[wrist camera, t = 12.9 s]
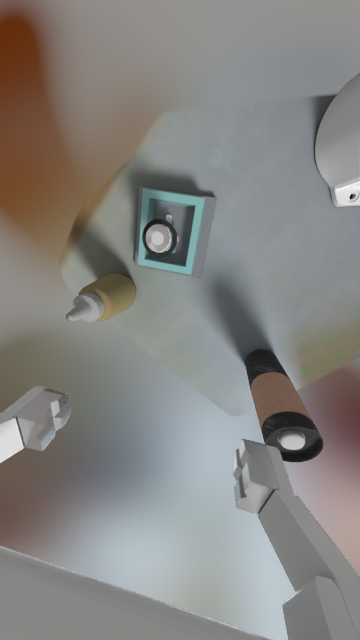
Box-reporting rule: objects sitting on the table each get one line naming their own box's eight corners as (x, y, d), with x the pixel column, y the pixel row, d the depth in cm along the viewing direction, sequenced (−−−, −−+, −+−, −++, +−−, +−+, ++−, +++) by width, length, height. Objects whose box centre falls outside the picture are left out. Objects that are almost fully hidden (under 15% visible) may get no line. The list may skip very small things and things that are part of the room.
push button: (156, 216, 35) (137, 207, 26) (185, 215, 34) (174, 205, 25) (158, 254, 38) (141, 257, 29) (185, 253, 37) (175, 257, 28)
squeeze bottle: (117, 263, 41) (54, 277, 25) (147, 285, 42) (105, 314, 26) (102, 291, 44) (36, 320, 28) (130, 312, 45) (83, 352, 29)
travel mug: (241, 372, 47) (258, 456, 28) (248, 345, 44) (273, 420, 25) (273, 377, 46) (312, 468, 28) (282, 351, 43) (334, 432, 24)
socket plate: (216, 199, 34) (216, 193, 30) (200, 276, 39) (199, 280, 36) (141, 187, 35) (132, 181, 31) (136, 264, 41) (128, 267, 37)
